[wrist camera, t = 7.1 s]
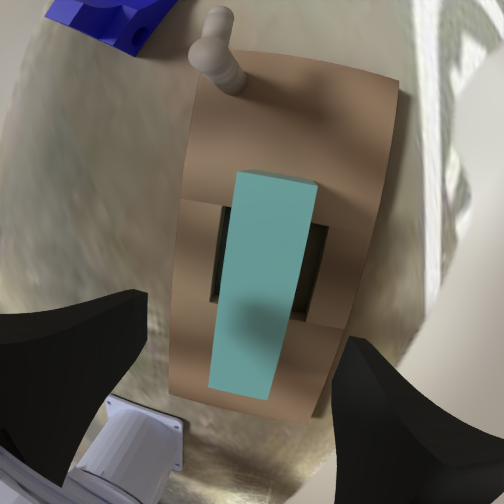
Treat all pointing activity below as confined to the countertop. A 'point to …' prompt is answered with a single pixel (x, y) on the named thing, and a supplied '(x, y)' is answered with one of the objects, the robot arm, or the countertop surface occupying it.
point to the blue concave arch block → (112, 19)
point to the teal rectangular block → (259, 278)
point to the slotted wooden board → (288, 163)
